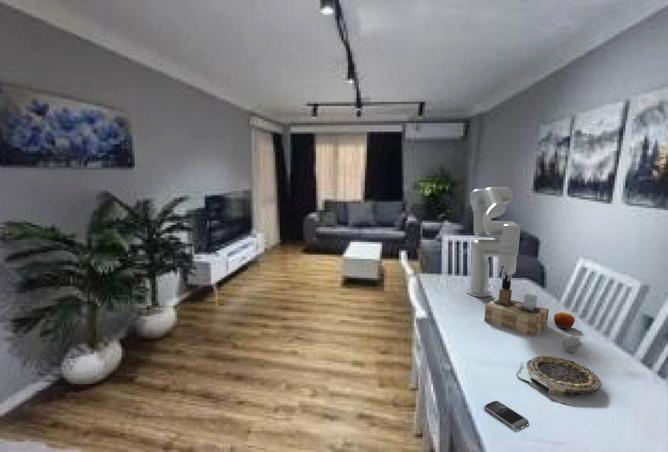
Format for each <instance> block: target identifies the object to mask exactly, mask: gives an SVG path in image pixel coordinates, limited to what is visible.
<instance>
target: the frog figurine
mask: <svg viewBox="0 0 668 452" xmlns="http://www.w3.org/2000/svg"><path fill="white" fill-rule="evenodd" d="M561 344H562V347H563V349H564V351H566V352H567V353H571V354H572V353H573V354H574V353H576V352H577V351H578V350H579V348H580V347H581V346H582V344H583V343H582V341H581V339H580V337H579V336H575V335H570V336H564V337H563V338H562V340H561Z"/></svg>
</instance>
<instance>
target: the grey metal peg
mask: <svg viewBox="0 0 668 452" xmlns="http://www.w3.org/2000/svg"><path fill="white" fill-rule="evenodd" d="M537 300H538V295H536V294H531V293H527V294H525V295H524V297H523V303H524V306H523V309H527V310H530V311H534V310H536V306H537V302H538V301H537Z"/></svg>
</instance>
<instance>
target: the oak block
mask: <svg viewBox="0 0 668 452" xmlns="http://www.w3.org/2000/svg"><path fill="white" fill-rule="evenodd" d="M523 306H524V302H521V301H519V300H515V299H511V303H509V304H504V303H500V302H499V296H498V297H497V298H495V299H493V300H492V301H490V302H488V303H485V308H484V319H483V320H484V322H487V323H490V324H493V325H497V326H500V327H503V328H507V329H509V330H513V331H516V332H519V333H523V334H526V335H529V336H532V337H536V336H538V334H539V333H541V331H543V330H544V329H545V328H546V327H547V326H548V319H549V309H548V308H546V307H542V306H539V305H538V306H537V305H536V310H534V311H530V310H527V309H523Z"/></svg>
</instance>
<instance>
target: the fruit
mask: <svg viewBox="0 0 668 452" xmlns="http://www.w3.org/2000/svg"><path fill="white" fill-rule="evenodd" d="M575 321H576V319H575V316H573V315H572V314H570V313H567V312H564V311H560V312H556V313H555V314H554V315H553V322H554V324H555V326H556V327H558V328H564V329H566V330H568V331H569V329H571V328H572V327H573V326H574V325H575Z"/></svg>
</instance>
